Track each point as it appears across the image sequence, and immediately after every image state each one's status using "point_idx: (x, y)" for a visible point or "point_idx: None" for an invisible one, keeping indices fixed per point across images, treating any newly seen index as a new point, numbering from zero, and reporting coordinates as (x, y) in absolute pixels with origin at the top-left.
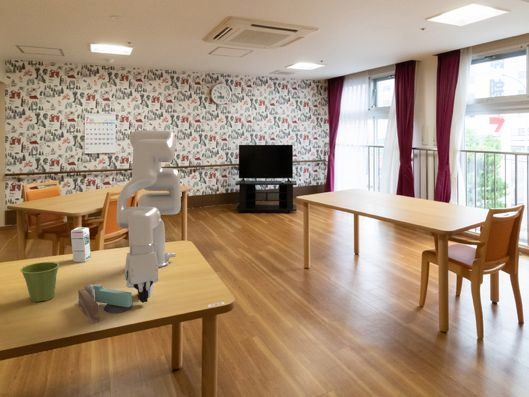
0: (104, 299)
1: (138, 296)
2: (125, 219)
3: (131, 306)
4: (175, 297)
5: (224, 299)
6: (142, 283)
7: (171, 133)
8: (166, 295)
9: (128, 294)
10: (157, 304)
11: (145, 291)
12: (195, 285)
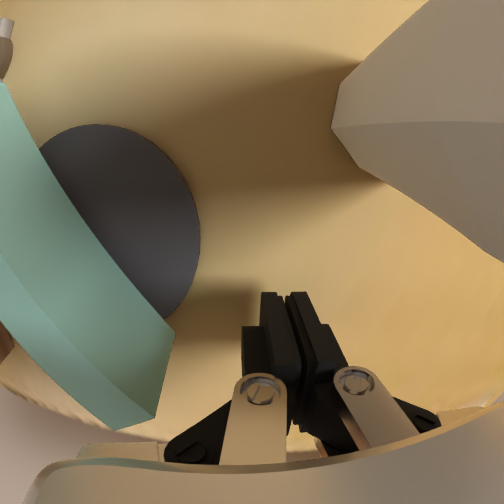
0: None
1: (242, 349)
2: None
3: (177, 306)
4: (464, 305)
5: (497, 391)
6: (421, 188)
7: None
8: (462, 247)
9: (120, 428)
10: (348, 346)
11: (299, 427)
12: None
